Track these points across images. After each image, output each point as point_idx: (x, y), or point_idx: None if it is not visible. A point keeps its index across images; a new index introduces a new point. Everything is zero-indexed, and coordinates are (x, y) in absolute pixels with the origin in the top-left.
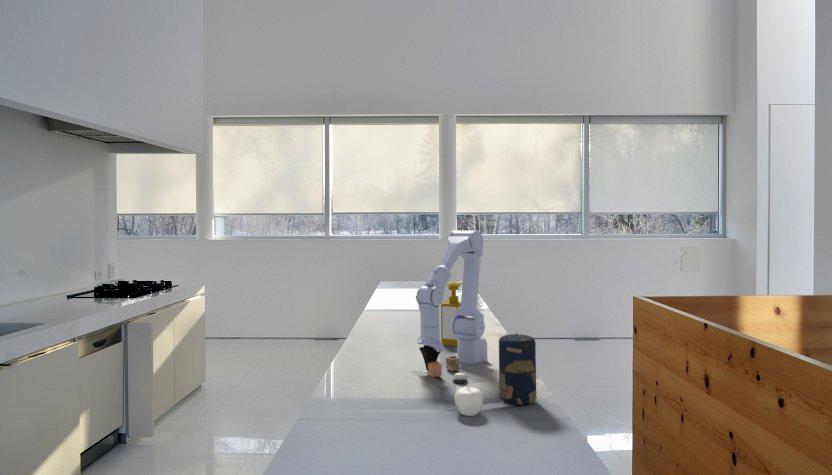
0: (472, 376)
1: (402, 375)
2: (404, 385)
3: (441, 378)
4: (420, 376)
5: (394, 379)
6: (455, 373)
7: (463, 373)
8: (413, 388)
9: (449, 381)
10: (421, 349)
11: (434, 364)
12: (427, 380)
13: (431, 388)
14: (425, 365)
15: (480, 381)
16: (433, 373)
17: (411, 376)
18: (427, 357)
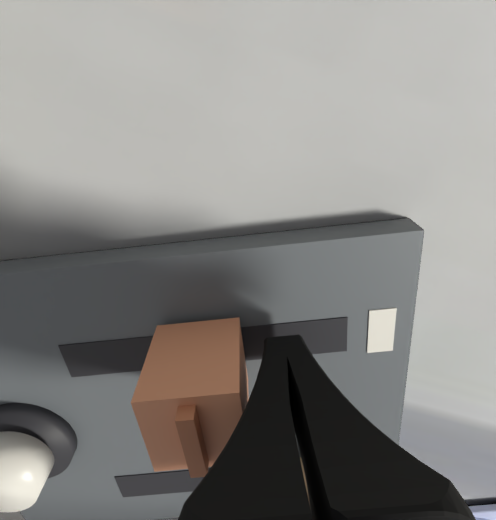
0: (142, 509)
1: (466, 141)
2: (131, 56)
3: (134, 370)
4: (244, 253)
5: (377, 14)
6: (18, 472)
7: (13, 506)
8: (17, 113)
9: (50, 392)
10: (336, 510)
11: (161, 426)
12: (102, 270)
13: (7, 252)
14: (309, 357)
15: (28, 512)
16: (151, 352)
17: (393, 207)
18: (227, 445)
